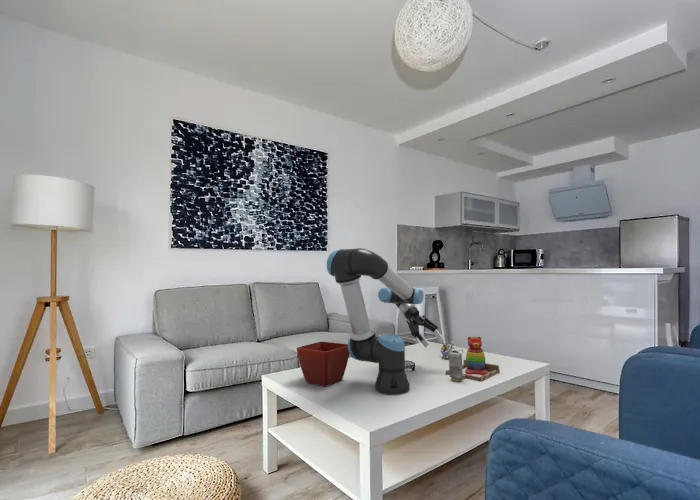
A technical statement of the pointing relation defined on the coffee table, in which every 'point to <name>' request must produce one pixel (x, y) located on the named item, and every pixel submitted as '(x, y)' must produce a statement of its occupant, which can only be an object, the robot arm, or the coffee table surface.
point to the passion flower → (448, 349)
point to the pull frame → (457, 367)
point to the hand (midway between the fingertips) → (435, 343)
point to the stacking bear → (475, 357)
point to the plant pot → (323, 362)
